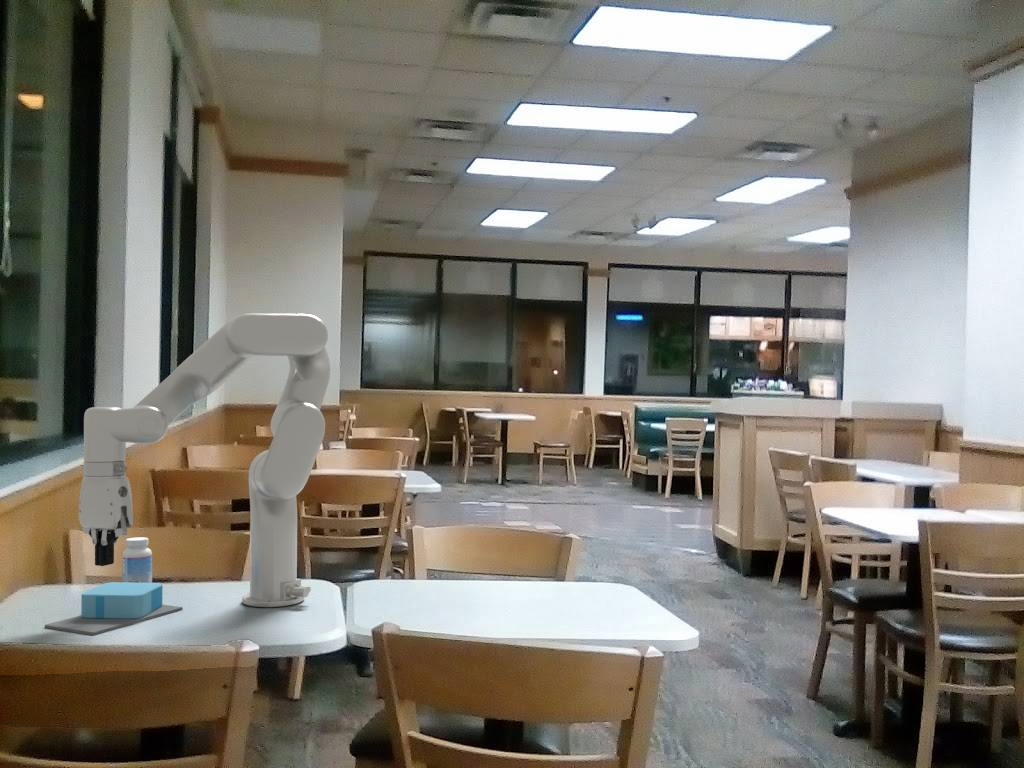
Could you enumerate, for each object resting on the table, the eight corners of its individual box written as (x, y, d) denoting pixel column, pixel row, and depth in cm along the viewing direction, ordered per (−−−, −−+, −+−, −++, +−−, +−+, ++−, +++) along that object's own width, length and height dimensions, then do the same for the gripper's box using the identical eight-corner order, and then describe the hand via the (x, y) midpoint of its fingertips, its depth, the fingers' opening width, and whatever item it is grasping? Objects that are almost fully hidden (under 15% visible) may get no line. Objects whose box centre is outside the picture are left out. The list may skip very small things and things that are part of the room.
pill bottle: (157, 588, 214) (158, 537, 214) (138, 593, 209) (138, 541, 209) (136, 586, 217) (136, 535, 217) (116, 591, 211) (116, 539, 211)
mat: (182, 609, 194) (182, 607, 194) (93, 635, 174) (93, 632, 174) (136, 603, 199) (136, 601, 199) (44, 627, 179) (44, 624, 179)
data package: (78, 618, 185) (139, 619, 184) (78, 594, 185) (140, 595, 184) (106, 604, 197) (165, 604, 196) (107, 581, 197) (165, 582, 196)
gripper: (148, 470, 189) (147, 564, 189) (92, 467, 195) (92, 558, 195) (118, 473, 182) (117, 571, 182) (61, 470, 188) (60, 564, 188)
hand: (104, 564), depth 188 cm, fingers closed
